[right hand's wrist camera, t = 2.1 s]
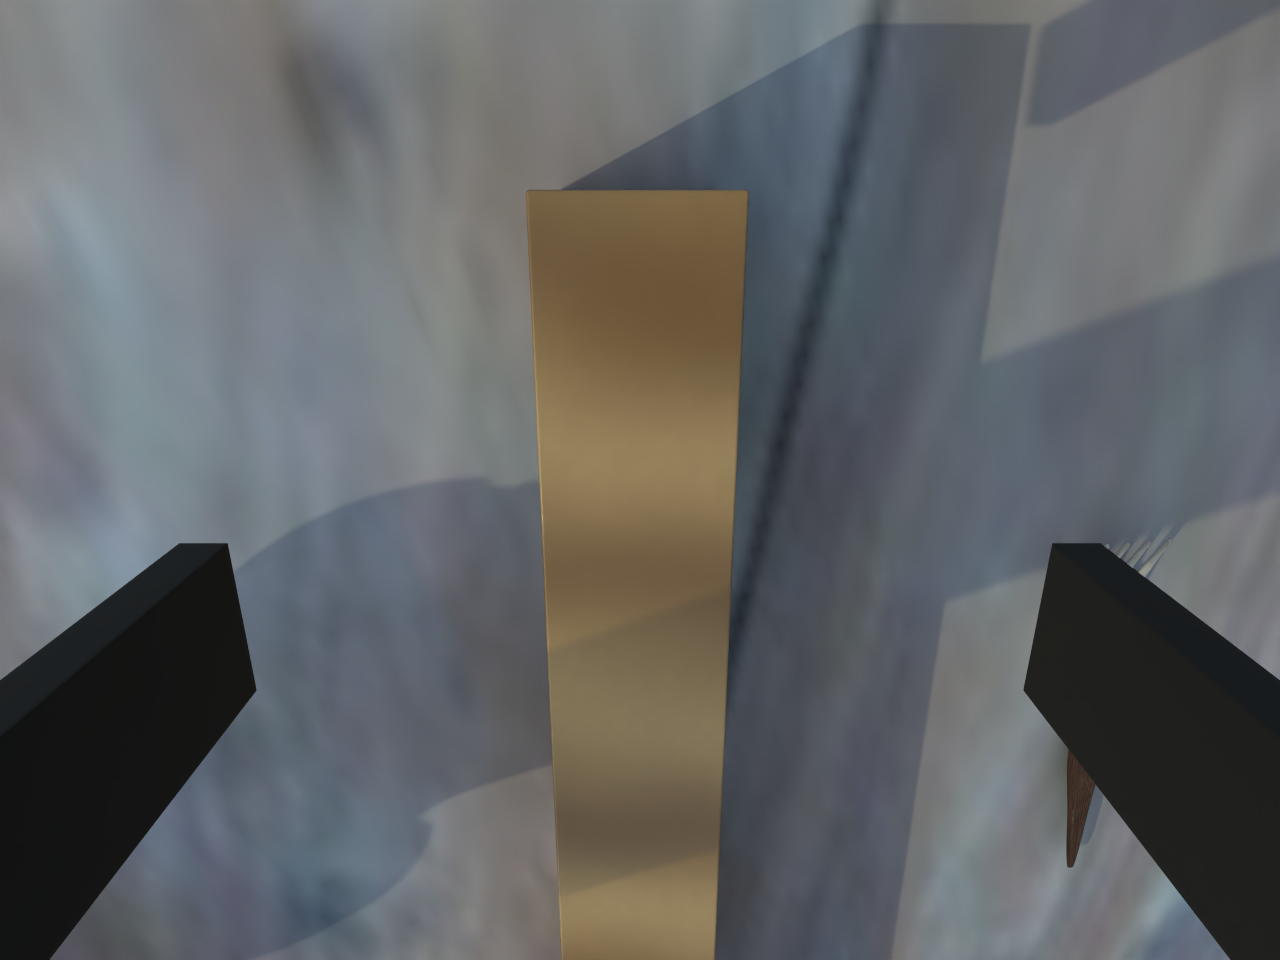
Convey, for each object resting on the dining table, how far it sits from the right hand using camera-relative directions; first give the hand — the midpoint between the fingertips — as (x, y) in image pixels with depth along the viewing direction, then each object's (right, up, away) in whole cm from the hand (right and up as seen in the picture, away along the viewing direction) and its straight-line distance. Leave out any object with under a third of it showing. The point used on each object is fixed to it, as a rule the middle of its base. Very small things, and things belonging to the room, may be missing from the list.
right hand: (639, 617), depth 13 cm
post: (0, -22, +24) cm, 33 cm away
